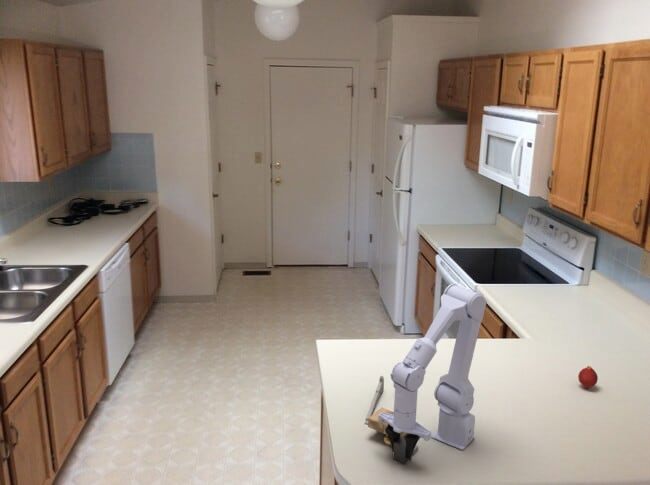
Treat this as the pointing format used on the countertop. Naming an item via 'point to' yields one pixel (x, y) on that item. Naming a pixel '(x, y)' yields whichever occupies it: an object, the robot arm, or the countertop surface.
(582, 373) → the onion
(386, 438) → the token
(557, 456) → the countertop surface
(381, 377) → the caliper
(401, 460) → the dark grey block
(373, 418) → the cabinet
